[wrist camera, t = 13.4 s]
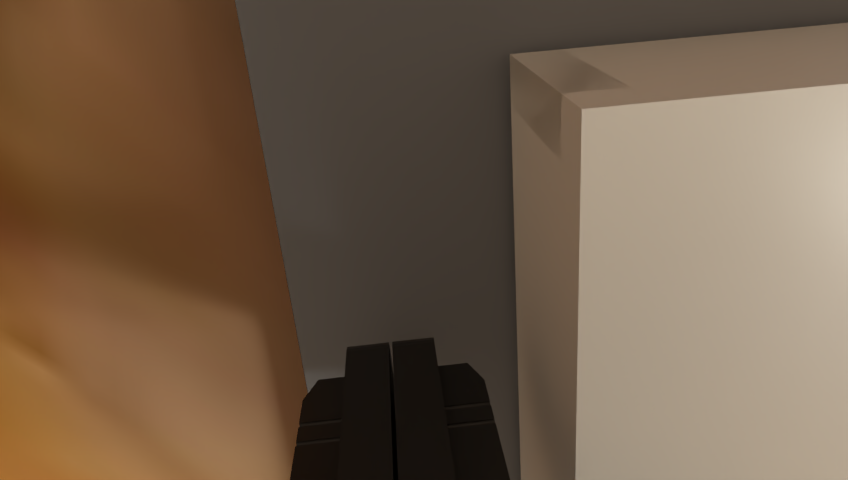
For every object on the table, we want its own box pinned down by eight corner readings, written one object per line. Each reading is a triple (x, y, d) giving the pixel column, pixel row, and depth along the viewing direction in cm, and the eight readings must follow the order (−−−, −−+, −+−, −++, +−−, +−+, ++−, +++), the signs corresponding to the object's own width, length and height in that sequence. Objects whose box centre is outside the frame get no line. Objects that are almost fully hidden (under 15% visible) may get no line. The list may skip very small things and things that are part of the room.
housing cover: (836, 490, 14) (988, 666, 11) (522, 526, 14) (571, 718, 11) (946, 13, 10) (1244, 45, 7) (509, 53, 10) (581, 109, 7)
